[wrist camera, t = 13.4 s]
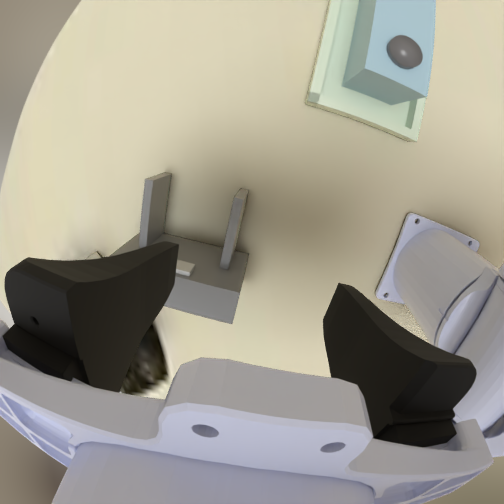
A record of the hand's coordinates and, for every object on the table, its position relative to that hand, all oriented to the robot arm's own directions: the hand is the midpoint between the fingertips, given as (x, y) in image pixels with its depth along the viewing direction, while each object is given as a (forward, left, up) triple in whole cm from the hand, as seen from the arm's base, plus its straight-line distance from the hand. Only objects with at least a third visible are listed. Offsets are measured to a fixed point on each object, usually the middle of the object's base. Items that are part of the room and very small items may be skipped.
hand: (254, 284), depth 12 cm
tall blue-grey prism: (-5, -16, -9) cm, 19 cm away
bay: (+5, +2, -10) cm, 11 cm away
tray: (-5, -17, -10) cm, 20 cm away
